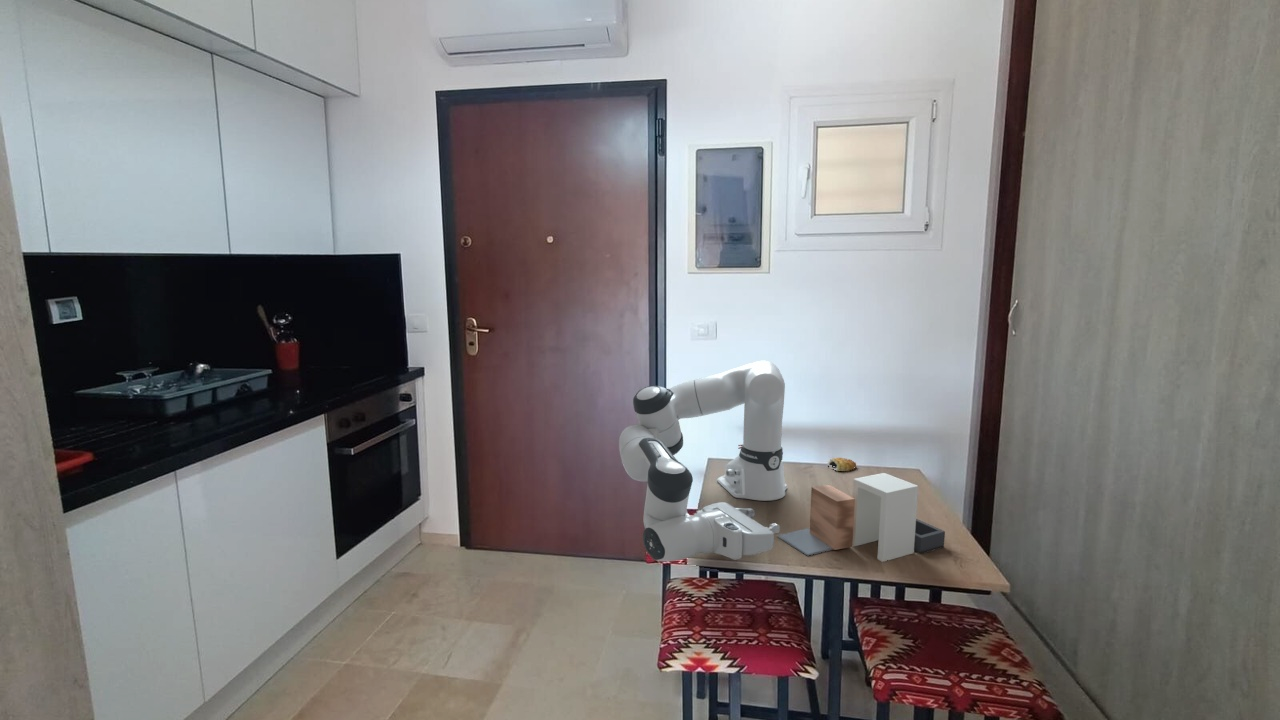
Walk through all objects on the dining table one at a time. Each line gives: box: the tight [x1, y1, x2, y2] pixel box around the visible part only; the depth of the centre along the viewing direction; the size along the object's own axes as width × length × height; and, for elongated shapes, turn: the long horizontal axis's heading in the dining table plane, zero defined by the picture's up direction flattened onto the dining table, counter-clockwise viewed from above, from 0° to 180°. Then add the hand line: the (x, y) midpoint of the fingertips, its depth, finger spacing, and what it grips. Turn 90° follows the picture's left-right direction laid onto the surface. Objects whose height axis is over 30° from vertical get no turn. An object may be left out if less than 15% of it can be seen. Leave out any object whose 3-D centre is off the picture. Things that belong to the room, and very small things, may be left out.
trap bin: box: [914, 518, 946, 555], centre depth 146 cm, size 12×8×4 cm, turn 25°
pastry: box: [827, 457, 857, 472], centre depth 199 cm, size 9×7×4 cm
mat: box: [777, 527, 834, 557], centre depth 145 cm, size 11×11×1 cm
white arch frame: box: [852, 472, 919, 563], centre depth 141 cm, size 10×10×16 cm
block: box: [809, 484, 855, 551], centre depth 145 cm, size 5×10×12 cm, turn 19°
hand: (765, 519), depth 138 cm, fingers open, 8 cm apart
